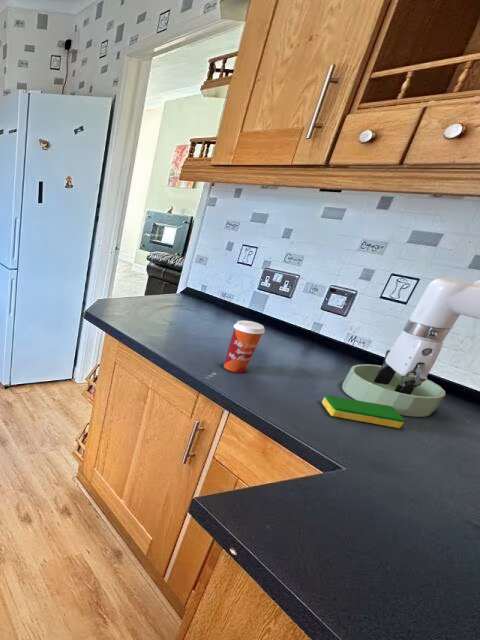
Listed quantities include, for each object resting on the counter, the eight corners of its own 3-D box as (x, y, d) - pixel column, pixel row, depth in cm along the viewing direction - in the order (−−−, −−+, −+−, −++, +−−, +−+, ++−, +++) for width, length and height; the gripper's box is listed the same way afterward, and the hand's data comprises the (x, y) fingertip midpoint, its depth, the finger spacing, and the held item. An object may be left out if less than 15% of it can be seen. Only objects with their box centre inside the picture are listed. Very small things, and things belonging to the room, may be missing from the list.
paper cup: (223, 372, 122) (240, 327, 115) (216, 361, 128) (231, 318, 122) (252, 375, 120) (271, 330, 114) (244, 364, 127) (260, 321, 120)
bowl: (446, 407, 107) (459, 389, 104) (411, 423, 100) (424, 404, 97) (363, 376, 121) (372, 360, 119) (327, 388, 114) (336, 371, 112)
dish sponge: (400, 429, 98) (406, 420, 97) (330, 416, 102) (335, 408, 101) (386, 414, 104) (391, 405, 102) (320, 402, 108) (325, 394, 107)
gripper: (468, 345, 93) (425, 410, 101) (425, 321, 107) (390, 379, 116) (426, 340, 95) (387, 404, 104) (389, 317, 110) (358, 374, 118)
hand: (389, 390), depth 110 cm, fingers open, 8 cm apart
